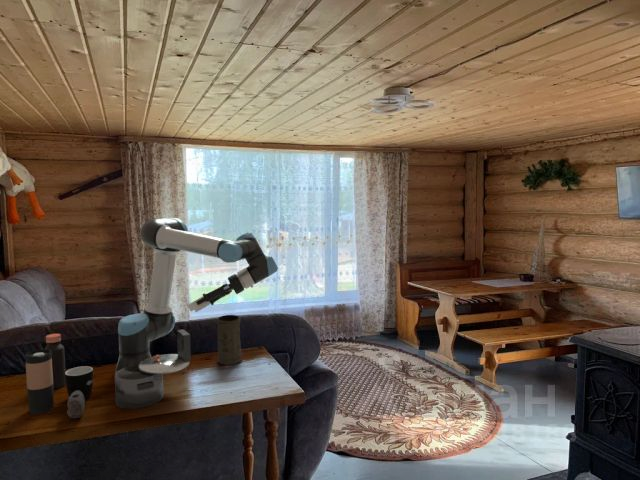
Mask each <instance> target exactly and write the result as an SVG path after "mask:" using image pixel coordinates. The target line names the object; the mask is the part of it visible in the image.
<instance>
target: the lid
mask: <svg viewBox="0 0 640 480" xmlns="http://www.w3.org/2000/svg"><path fill="white" fill-rule="evenodd" d="M176 334H177V335H176V336H177V353H167V354H155V355H152V356H151V357H150V358H147V359H145V360H143V361H142V362H140V364H139V370H140V371H141V372H143V373H146V374H163V375H167V374H172V373H176V372H179V371H182V370H184V369H186V368H187V367H188V366H189V365H190V361H191V359H192V358H191V356H192V354H191V334H190V333H189V332H188V331H186V330H185V329H178V330H176Z"/></svg>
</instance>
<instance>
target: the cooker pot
mask: <svg viewBox="0 0 640 480" xmlns="http://www.w3.org/2000/svg"><path fill="white" fill-rule="evenodd" d="M114 390H115V391H114V392H115V393H114V395H115V405H116V406H117V407H119V408H121V409H126V410H135V409H143V408H146V407H150V406H152V405H155V404H157V403H158V402H160V401H162V399H163V398H164V374H146V373H143V372H141V371H140V370H139V364H138V365H132V366H128V367H125V368H123V369H121V370H119V371H117V372H115V373H114Z"/></svg>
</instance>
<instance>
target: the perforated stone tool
mask: <svg viewBox="0 0 640 480" xmlns="http://www.w3.org/2000/svg"><path fill="white" fill-rule="evenodd" d="M66 404H67V405H66V406H67V408H68V409H67V410H66V413H67V416H68V417H69V418H70V419H73V420H74V419H79V418H80V419H81V417H82V416H83V415H84V412H85V406H86V400H85V399H84V395H83V393H82V392H81V391H79V390H77V391H74V392H73V393H72V394H71V395H70V397H69V396H68V399H67V403H66Z"/></svg>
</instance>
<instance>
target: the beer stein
mask: <svg viewBox="0 0 640 480" xmlns="http://www.w3.org/2000/svg"><path fill="white" fill-rule="evenodd" d="M240 323H241V318H240V316H239V315H235V314H226V315H221V316H219V317H218V318H217V322H216V324H217V355H218V357H217V361H218V363H219V364H221V365H226V366H228V365H236V364H239V363H240V362H241V361H242V360H243V355H242V354H243V351H242V346H241V331H240V330H241V327H240Z"/></svg>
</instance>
